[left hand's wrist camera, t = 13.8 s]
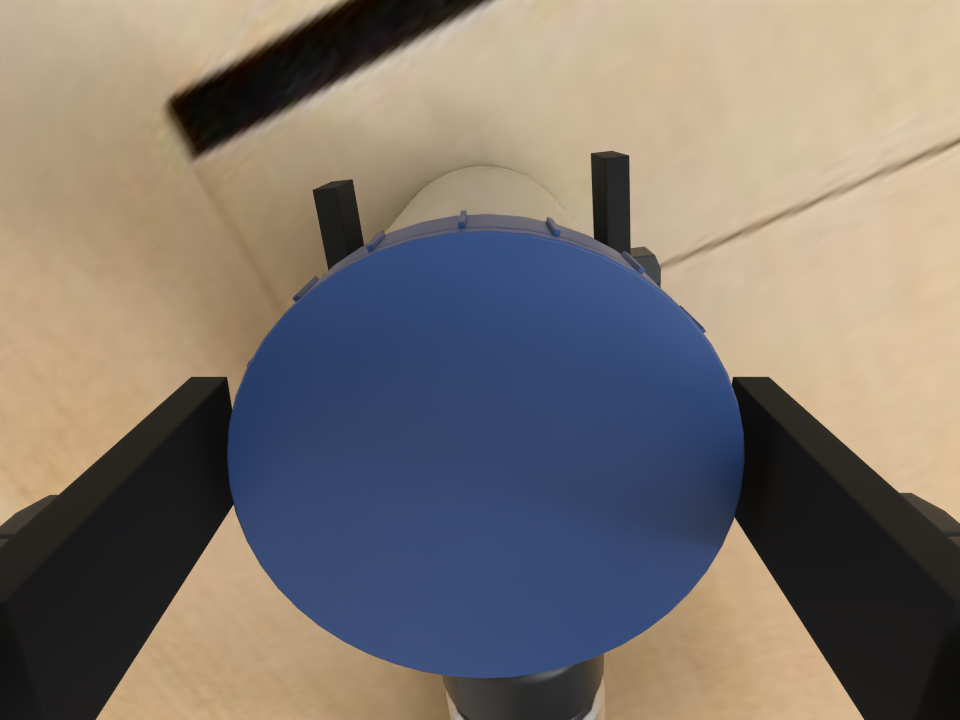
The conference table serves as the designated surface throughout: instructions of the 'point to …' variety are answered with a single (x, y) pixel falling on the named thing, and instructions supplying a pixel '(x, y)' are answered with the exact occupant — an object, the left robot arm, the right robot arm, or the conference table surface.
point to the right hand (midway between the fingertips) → (469, 170)
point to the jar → (483, 198)
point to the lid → (485, 448)
